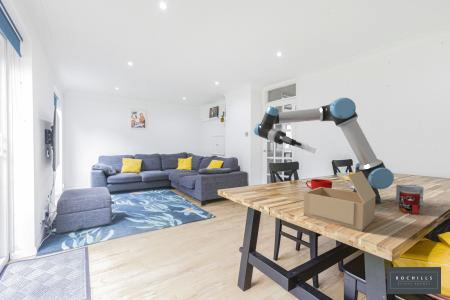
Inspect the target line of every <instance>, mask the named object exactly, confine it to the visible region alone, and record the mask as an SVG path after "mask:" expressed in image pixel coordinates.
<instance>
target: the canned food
mask: <svg viewBox="0 0 450 300" xmlns="http://www.w3.org/2000/svg"><path fill="white" fill-rule="evenodd" d="M420 206H421V205H420V192H418V191H414V190H405V189H401V190H400V194H399V203H398V209H399V212H400V211H401V213H403V212H404V213H403V214H407V213H409V214H408V215H413V214H417V215H419V214H420Z"/></svg>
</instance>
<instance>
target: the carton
mask: <svg viewBox="0 0 450 300" xmlns="http://www.w3.org/2000/svg"><path fill="white" fill-rule="evenodd" d="M302 203H303V206H302V213H303V216H304V217H307V218H310V219H311V218H312V219H315V220H318V221H322V222H325V223H329V224H333V225H337V226H340V227H344V228H346V229H350V230H354V231H357V232H363V231H364V230H366V229H367V228H368V227H369V226H370V225H371V224H372V223H373V222H374V221H375V217H376V214H375V213H376V203H375V197H373V198H372V199H370V200H369V201H367V202H366V203H364V204H363V202H362V200H361V198H360V197H359V195H358V193H356V192H353V191H349V190H344V189H343V190H342V189H338V188H332V189H331V188H324V187H319V188H316V189H313V190H312V189H311V190H307V191H303V202H302Z"/></svg>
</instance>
